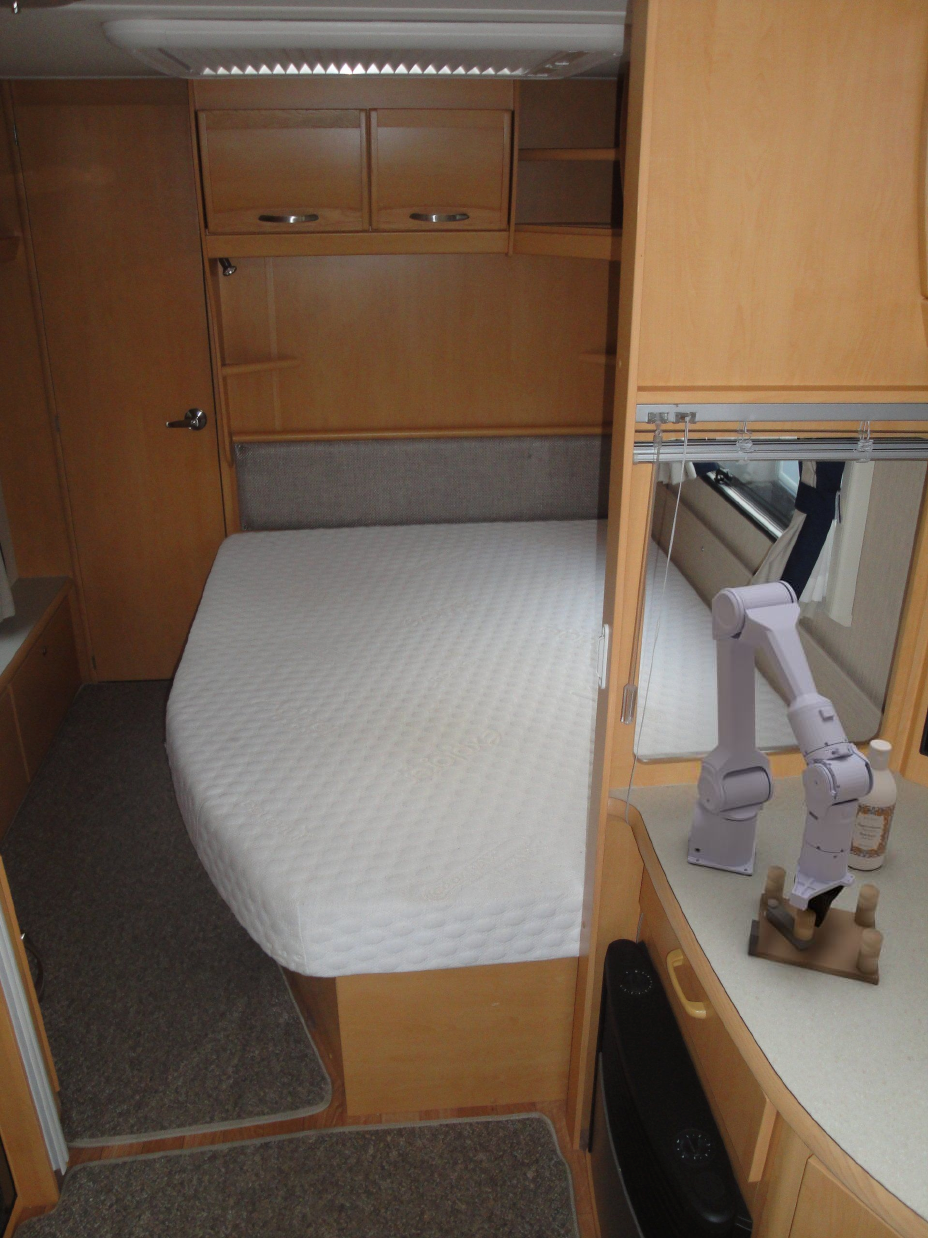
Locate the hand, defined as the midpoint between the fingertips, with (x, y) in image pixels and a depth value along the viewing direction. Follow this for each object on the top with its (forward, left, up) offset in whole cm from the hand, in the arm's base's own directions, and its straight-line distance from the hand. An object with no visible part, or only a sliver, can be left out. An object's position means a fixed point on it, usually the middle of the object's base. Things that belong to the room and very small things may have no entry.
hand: (812, 923), depth 124 cm
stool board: (+1, +1, -4) cm, 4 cm away
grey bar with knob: (-3, 0, -2) cm, 4 cm away
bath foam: (+7, +22, -4) cm, 23 cm away
